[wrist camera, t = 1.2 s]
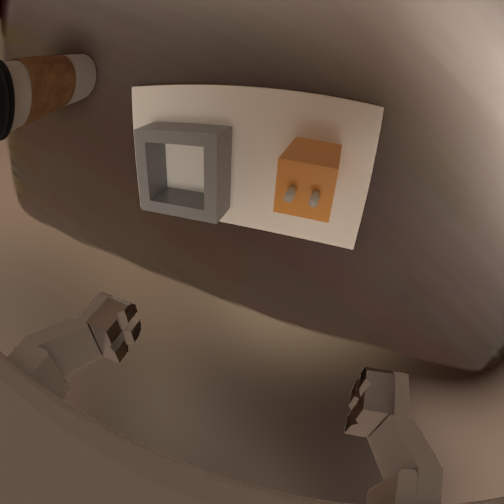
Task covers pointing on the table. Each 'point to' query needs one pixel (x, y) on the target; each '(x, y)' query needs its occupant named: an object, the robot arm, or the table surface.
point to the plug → (307, 179)
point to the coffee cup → (41, 87)
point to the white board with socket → (248, 154)
